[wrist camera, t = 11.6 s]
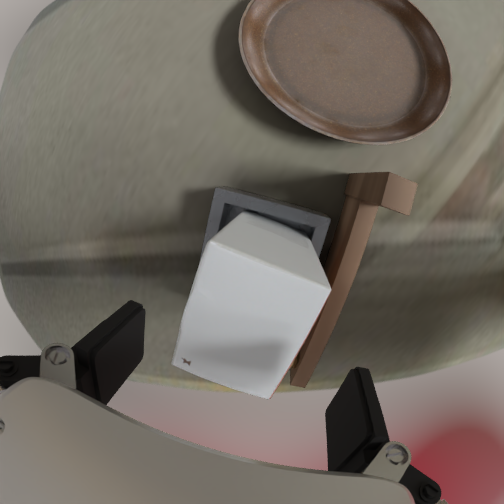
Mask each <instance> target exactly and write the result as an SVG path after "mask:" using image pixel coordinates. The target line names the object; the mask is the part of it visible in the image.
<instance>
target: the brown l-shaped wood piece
mask: <svg viewBox="0 0 504 504" xmlns="http://www.w3.org/2000/svg"><path fill="white" fill-rule="evenodd" d="M417 185H418V184H417V183H414V182H412V181H410V180H408V179H405V178H403V177H400V176H398V175H396V174H393V173H391V172H374V173H350V174H349V178H348V182H347V185H346V189H345V193H344V194H345V195H346V199H345V202H344V206H343V209H342V212H341V216H340V219H339V222H338V226H337V229H336V232H335V235H334V238H333V242H332V245H331V248H330V251H329V254H328V257H327V260H326V263H325V266H324V269H323V270H324V272H325V275H326V277H327V280H328V282H329V284H330V287H331V290H332V291H331V293H330V295H329V297H328V299H327V301H326V303H325V305H324V306H323V308H322V310H321V312H320V314H319V316H318V318H317V320H316V322H315V324H314V326H313V327H312V329H311V331H310V333H309V335H308V337H307V339H306V340H305V342H304V344H303V345H302V347H301V349H300V351H299V353H298V354H297V356H296V358H295V359H294V361H293V363H292V365H291V366H290V385H293V386H298V387H303V388H305V387H306V385H307V383H308V381H309V379H310V377H311V375H312V373H313V371H314V369H315V367H316V365H317V363H318V361H319V359H320V357H321V355H322V353H323V351H324V349H325V346H326V344H327V342H328V340H329V338H330V336H331V333H332V331H333V329H334V327H335V324H336V322H337V320H338V317H339V315H340V313H341V310H342V308H343V306H344V303H345V301H346V298H347V296H348V293H349V291H350V288H351V286H352V283H353V281H354V278H355V275H356V273H357V270H358V267H359V264H360V262H361V259H362V256H363V253H364V250H365V247H366V244H367V241H368V238H369V235H370V232H371V229H372V226H373V223H374V220H375V216H376V213H377V210H378V206H382V207H385V208H388V209H391V210H394V211H396V212H399V213H402V214H405V215H408V216H409V215H410V211H411V208H412V204H413V201H414V197H415V193H416V189H417Z"/></svg>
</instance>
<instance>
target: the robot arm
mask: <svg viewBox="0 0 504 504" xmlns="http://www.w3.org/2000/svg"><path fill="white" fill-rule="evenodd" d="M144 328H145V309H143V306H142V304H139V303H137V302H134V301H132V300H130V301H128V302H127V303H126V304H125V305H123V306H122V307H121V308H120V309H118V310H117V311H116V312H115V313H114V314H112V315H111V316H110V317H109V318H107V319H106V320H104V321H103V322H101V323H100V324H99V325H98V326H97V327H95V328H94V329H93V330H92V331H91V332H89V333H88V334H87V335H86V336H85V337H84V338H82V339H81V340H80V341H79V342H78V343H76V344H75V345H74V346H73V347H72V348H70V347H69V346H67V345H65V344H61V343H53V344H50V345H48V346H46V347H45V348H44V349H43V350H42V353H41V355H40V356H2V357H0V504H448V503H447V502H446V501H445V500H442V501H441V500H440V497H441V489H440V487H439V485H438V484H437V483H436V482H435V481H433V480H432V479H430V478H429V477H427V476H426V475H424V474H423V473H422V472H420V471H419V470H417V469H416V468H414V467H413V466H412V465H410V462H411V453H410V451H409V449H408V448H407V447H406V446H405V445H404V444H402V443H400V442H396V441H394V442H393V441H392V442H390V441H389V436H388V433H387V429H386V425H385V421H384V417H383V414H382V410H381V407H380V403H379V401H378V397H377V394H376V391H375V387H374V384H373V381H372V377H371V374H370V371H369V369H367V368H361V367H356V368H355V369H351V370H350V372H349V373H348V375H347V377H346V378H345V380H344V382H343V383H342V385H341V387H340V388H339V390H338V392H337V393H336V395H335V397H334V398H333V400H332V401H331V403H330V404H329V406H328V408H327V409H326V413H325V417H326V433H327V453H328V471H323V470H313V469H306V468H297V467H290V466H284V465H278V464H273V463H267V462H262V461H258V460H253V459H248V458H244V457H240V456H236V455H232V454H228V453H224V452H221V451H217V450H214V449H211V448H208V447H204V446H201V445H198V444H195V443H192V442H189V441H186V440H184V439H181V438H178V437H175V436H173V435H170V434H167V433H165V432H163V431H160V430H158V429H155V428H153V427H150V426H148V425H146V424H144V423H141V422H139V421H137V420H135V419H133V418H131V417H128V416H126V415H124V414H122V413H120V412H118V411H116V410H114V409H112V408H110V407H108V406H106V405H107V403H108V402H109V401H110V399H111V398H112V397H113V396H114V394H115V393H116V392H117V391H118V389H119V388H120V387H121V385H122V384H123V383H124V382H125V380H126V379H127V378H128V377H129V375H130V374H131V373H132V372H133V370H134V369H135V368H136V367H137V365H138V364H139V363H140V362H141V360H142V358H143V353H144Z"/></svg>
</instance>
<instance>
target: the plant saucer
mask: <svg viewBox="0 0 504 504" xmlns="http://www.w3.org/2000/svg"><path fill="white" fill-rule="evenodd" d="M238 39H239V48H240V53H241V56H242V60H243V62H244V65H245V67H246V69H247V71H248V73H249V75H250V76H251V78H252V80H253V81H254V83H255V84H256V85H257V87H258V88H259V89H260V90H261V92H262V93H263V94H264V95H265V96H266V97H267V98H268V99H269V100H270V101H271V102H272V103H273V104H274V105H275V106H276V107H278V108H279V109H280V110H281V111H283V112H284V113H285V114H287V115H288V116H289V117H291V118H292V119H294V120H296V121H297V122H299V123H301V124H303V125H304V126H306V127H308V128H310V129H312V130H314V131H317V132H319V133H322V134H324V135H327V136H330V137H333V138H336V139H339V140H343V141H347V142H352V143H358V144H367V145H386V144H394V143H399V142H403V141H406V140H409V139H412V138H415V137H417V136H418V135H420V134H422V133H424V132H425V131H427V130H428V129H429V128H431V127H432V126H433V125H434V124H435V123H436V122H437V121H438V120H439V118H440V117H441V115H442V114H443V112H444V111H445V109H446V106H447V104H448V102H449V99H450V95H451V89H452V70H451V64H450V60H449V57H448V53H447V50H446V48H445V46H444V43H443V41H442V39H441V37H440V36H439V34H438V33H437V31H436V29H435V28H434V26H433V25H432V24H431V22H430V21H429V20H428V18H427V17H426V16H425V15H424V14H423V13H422V12H421V11H420V10H419V9H418V8H417V7H416V6H415V5H414V4H413V3H412V2H410V1H409V0H251V1H250V2H249V4H248V5H247V7H246V9H245V11H244V13H243V15H242V18H241V21H240V26H239V34H238Z"/></svg>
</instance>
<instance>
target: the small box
mask: <svg viewBox="0 0 504 504" xmlns="http://www.w3.org/2000/svg"><path fill="white" fill-rule="evenodd" d="M331 291H332V290H331V287H330V284H329V282H328V280H327V277H326V275H325V272H324V270H323V268H322V266H321V263H320V261H319V258H318V256H317V254H316V252H315V249H314V247H313V245H312V243H311V241H310V238H309V236H308V234H307V233H304V232H302V231H299V230H297V229H294V228H292V227H289V226H287V225H284V224H282V223H279V222H276V221H274V220H271V219H269V218H266V217H264V216H261V215H258V214H256V213H253V212H251V211H248V210H244V211H243V212H242V213H240V214H239V215H238V216H237V217H236V218H234V219H233V220H232V221H231V222H230V223H229V224H227V225H226V226H225V227H224V228H223V229H222V230H221V231H219V232H218V233H217V234H216V235H215V236H214V237H212V238H211V239H210V240H209V241H208V242H207V244H206V246H205V249H204V252H203V255H202V258H201V261H200V264H199V267H198V270H197V273H196V276H195V279H194V282H193V285H192V288H191V292H190V295H189V298H188V301H187V304H186V307H185V310H184V313H183V317H182V321H181V324H180V330H179V335H178V339H177V343H176V347H175V351H174V355H173V359H172V365H174V366H176V367H178V368H181V369H183V370H185V371H187V372H189V373H192V374H194V375H197V376H199V377H202V378H204V379H207V380H209V381H212V382H215V383H217V384H220V385H223V386H226V387H229V388H232V389H235V390H238V391H241V392H244V393H247V394H250V395H254V396H258V397H261V398H264V399H270V398H271V396H272V395H273V394H274V392H275V391H276V389H277V387H278V386H279V384H280V383H281V381H282V379H283V378H284V376H285V374H286V373H287V371H288V369H289V368H290V366H291V365H292V363H293V361H294V359H295V358H296V356H297V354H298V353H299V351H300V349H301V347H302V345H303V344H304V342H305V340H306V339H307V337H308V335H309V333H310V331H311V329H312V327H313V326H314V324H315V322H316V320H317V318H318V316H319V314H320V312H321V310H322V308H323V306H324V305H325V303H326V301H327V299H328V297H329V295H330V293H331Z"/></svg>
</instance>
